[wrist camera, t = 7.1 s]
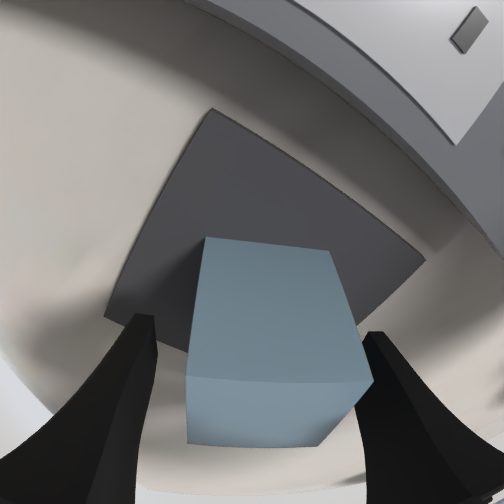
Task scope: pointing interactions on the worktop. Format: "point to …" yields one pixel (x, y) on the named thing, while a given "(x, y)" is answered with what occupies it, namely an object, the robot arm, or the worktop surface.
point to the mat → (251, 228)
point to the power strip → (406, 80)
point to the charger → (270, 348)
